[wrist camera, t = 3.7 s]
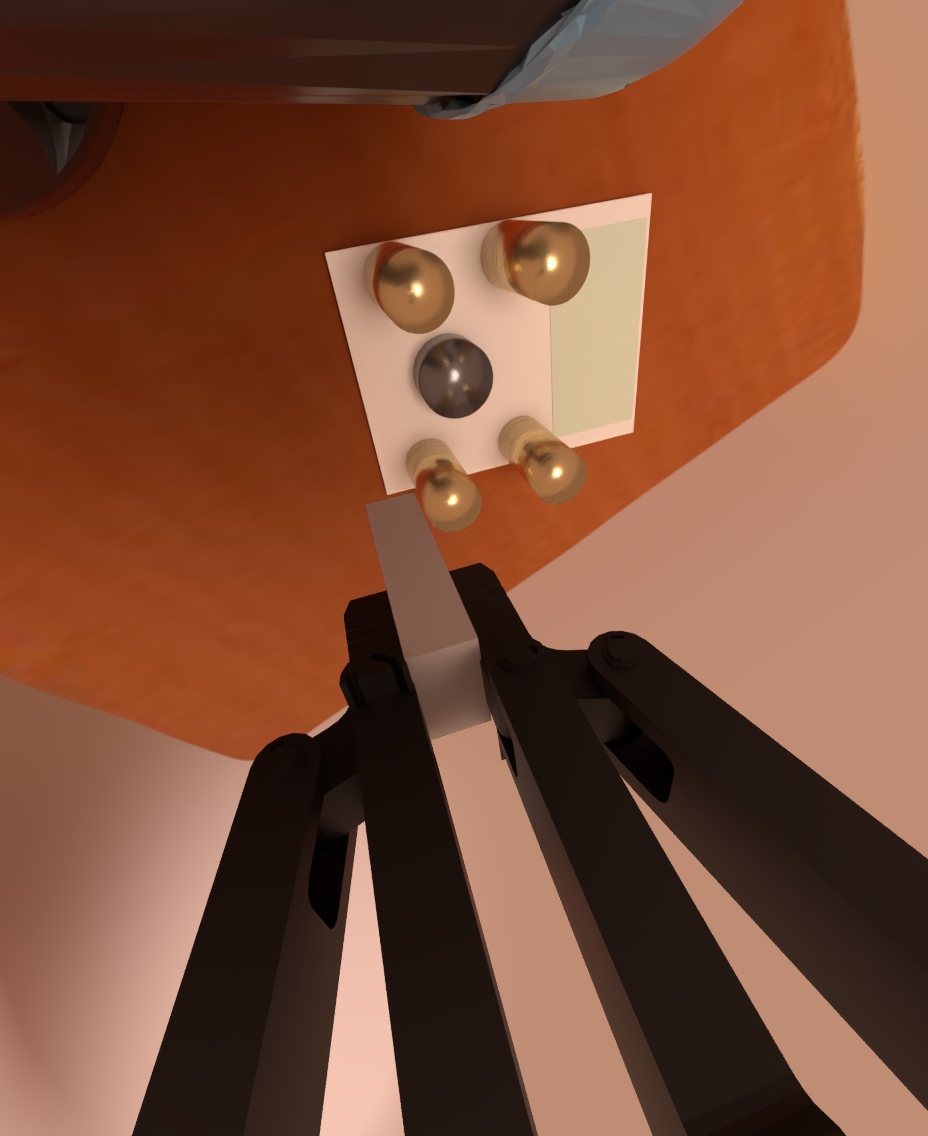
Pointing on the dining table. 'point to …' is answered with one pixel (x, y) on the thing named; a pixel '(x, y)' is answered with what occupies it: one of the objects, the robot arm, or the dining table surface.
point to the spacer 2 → (442, 485)
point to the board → (508, 342)
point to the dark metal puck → (453, 375)
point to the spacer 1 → (409, 286)
